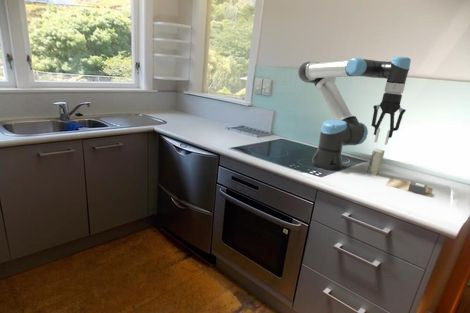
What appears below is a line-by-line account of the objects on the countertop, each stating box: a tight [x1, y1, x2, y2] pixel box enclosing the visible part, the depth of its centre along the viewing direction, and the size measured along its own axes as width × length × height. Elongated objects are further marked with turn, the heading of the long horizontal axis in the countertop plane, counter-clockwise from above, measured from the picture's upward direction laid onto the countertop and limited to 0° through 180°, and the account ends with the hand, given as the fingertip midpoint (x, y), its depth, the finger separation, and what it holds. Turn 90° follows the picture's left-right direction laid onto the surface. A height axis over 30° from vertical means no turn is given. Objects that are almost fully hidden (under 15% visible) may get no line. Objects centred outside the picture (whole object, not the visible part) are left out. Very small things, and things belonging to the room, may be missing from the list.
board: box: [385, 176, 434, 198], centre depth 129 cm, size 17×14×1 cm
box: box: [367, 148, 385, 176], centre depth 141 cm, size 5×4×13 cm
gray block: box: [407, 181, 428, 196], centre depth 123 cm, size 6×5×3 cm
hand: (380, 142), depth 137 cm, fingers open, 4 cm apart
